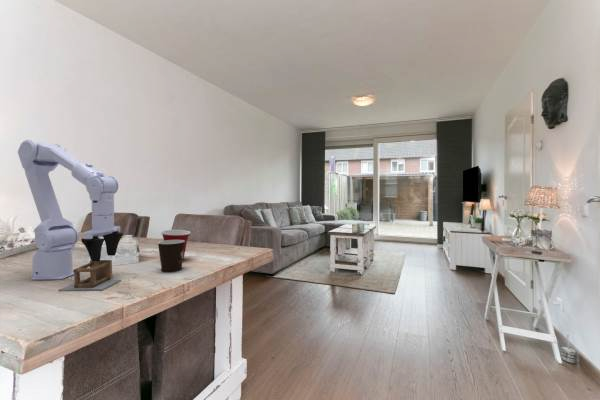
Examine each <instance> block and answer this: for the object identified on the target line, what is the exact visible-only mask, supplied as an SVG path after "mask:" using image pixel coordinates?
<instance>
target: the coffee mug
mask: <svg viewBox="0 0 600 400" xmlns="http://www.w3.org/2000/svg"><path fill="white" fill-rule="evenodd" d="M184 243H185V241H184V240H166V241H164V240H161V241H158V242H157V244H158V245H157V246H158V247H157V248H158V253H159V259H160V267H161V272H163V273H176V272H180V271H181V270H182V269H183V267H182V266H183V261H184V259H183V252H184ZM182 260H183V261H182Z"/></svg>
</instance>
